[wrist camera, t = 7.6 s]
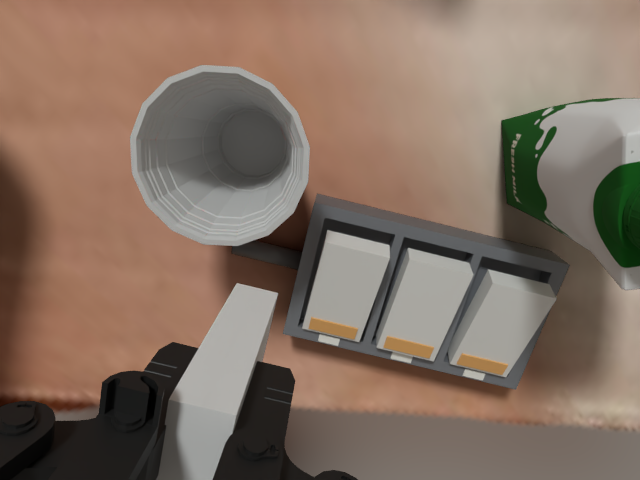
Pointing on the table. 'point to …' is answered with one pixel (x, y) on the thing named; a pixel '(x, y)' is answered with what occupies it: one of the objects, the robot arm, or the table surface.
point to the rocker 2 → (423, 304)
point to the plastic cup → (219, 155)
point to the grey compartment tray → (400, 237)
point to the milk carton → (581, 177)
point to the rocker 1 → (345, 285)
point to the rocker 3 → (500, 323)
